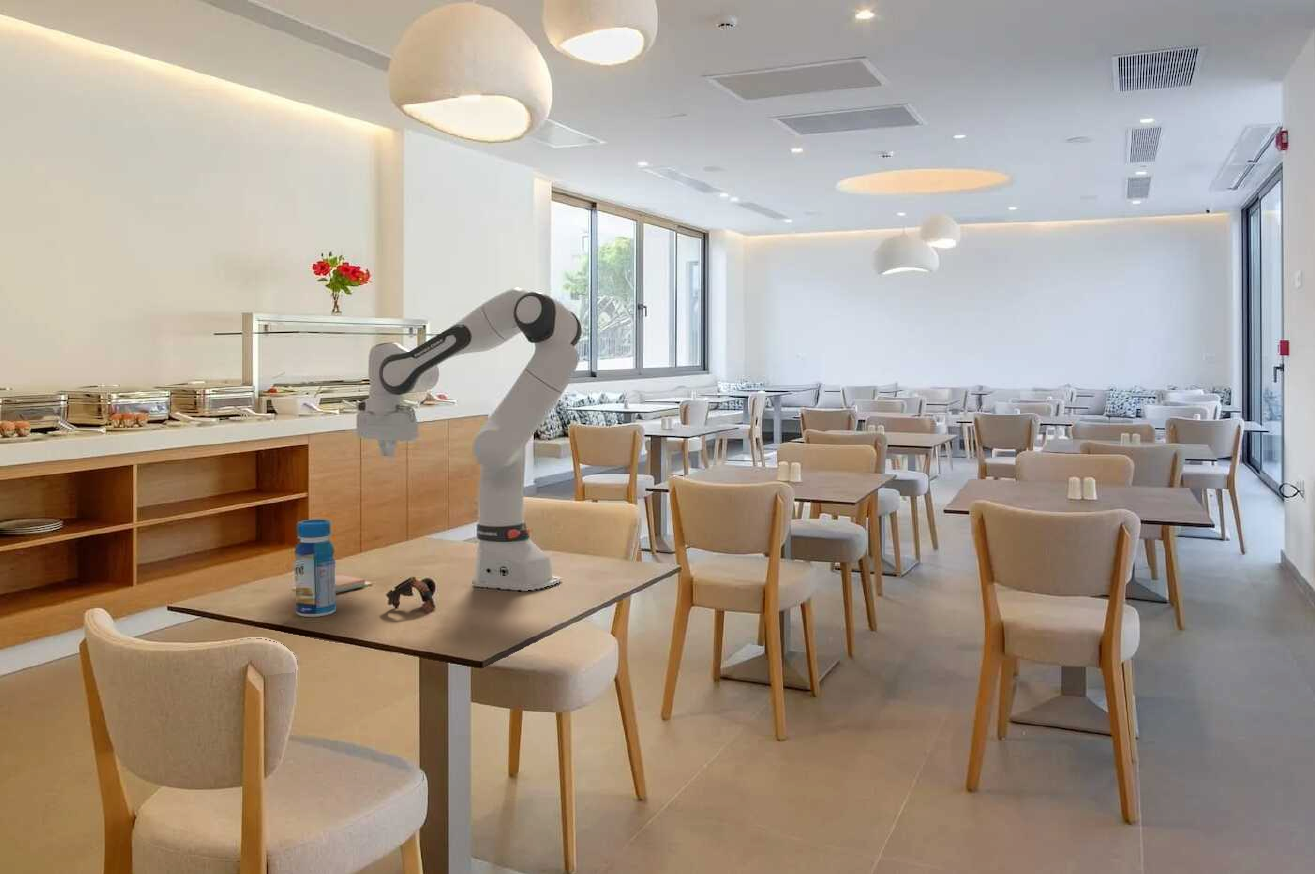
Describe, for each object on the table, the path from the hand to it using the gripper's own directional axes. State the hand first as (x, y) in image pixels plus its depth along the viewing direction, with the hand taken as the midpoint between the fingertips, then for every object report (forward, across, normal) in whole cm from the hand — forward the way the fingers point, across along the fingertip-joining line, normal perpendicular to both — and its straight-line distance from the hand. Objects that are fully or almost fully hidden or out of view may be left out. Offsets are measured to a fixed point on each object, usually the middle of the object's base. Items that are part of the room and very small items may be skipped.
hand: (388, 457), depth 260 cm
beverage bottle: (+29, -24, +42) cm, 57 cm away
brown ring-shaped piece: (+29, -40, +28) cm, 57 cm away
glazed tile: (+28, -14, +24) cm, 39 cm away
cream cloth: (+29, -7, +24) cm, 38 cm away
